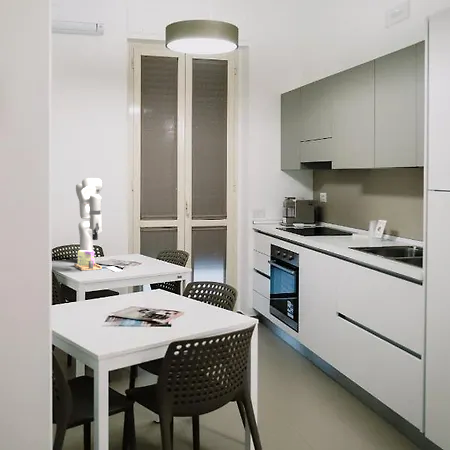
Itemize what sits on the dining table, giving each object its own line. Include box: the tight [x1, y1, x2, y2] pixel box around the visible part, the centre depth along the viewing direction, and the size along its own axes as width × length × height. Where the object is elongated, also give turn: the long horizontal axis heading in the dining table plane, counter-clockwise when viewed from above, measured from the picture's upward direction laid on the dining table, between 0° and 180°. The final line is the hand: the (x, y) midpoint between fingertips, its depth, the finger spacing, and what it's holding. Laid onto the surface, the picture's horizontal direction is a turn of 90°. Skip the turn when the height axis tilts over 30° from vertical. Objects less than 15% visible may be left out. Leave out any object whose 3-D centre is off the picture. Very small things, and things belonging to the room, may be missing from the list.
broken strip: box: [105, 266, 123, 273], centre depth 413 cm, size 20×6×1 cm, turn 28°
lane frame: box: [73, 261, 103, 271], centre depth 418 cm, size 20×14×6 cm
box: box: [77, 249, 95, 266], centre depth 421 cm, size 10×6×12 cm, turn 79°
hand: (95, 239), depth 401 cm, fingers closed
